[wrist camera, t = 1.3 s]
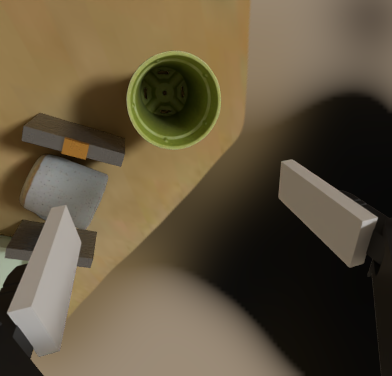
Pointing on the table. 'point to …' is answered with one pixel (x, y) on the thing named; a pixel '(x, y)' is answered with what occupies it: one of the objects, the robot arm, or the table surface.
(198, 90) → the plant pot
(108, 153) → the grey cases
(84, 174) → the ceramic mug
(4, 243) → the tray
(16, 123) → the table surface
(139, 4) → the table surface
